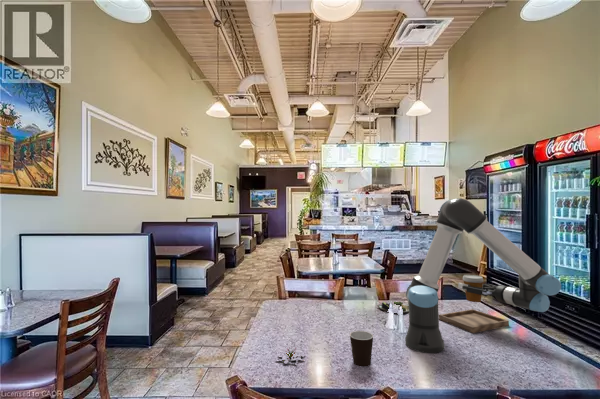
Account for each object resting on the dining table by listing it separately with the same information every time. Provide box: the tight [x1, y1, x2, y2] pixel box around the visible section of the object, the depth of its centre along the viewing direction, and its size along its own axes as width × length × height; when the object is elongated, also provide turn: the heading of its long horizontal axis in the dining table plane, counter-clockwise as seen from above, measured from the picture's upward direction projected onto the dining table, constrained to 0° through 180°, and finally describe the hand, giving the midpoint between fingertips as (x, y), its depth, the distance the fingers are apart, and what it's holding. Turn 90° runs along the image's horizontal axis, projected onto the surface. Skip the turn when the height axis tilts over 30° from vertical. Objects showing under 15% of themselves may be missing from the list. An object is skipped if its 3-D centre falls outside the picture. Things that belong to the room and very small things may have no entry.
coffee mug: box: [349, 330, 374, 368], centre depth 116 cm, size 12×9×10 cm
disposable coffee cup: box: [462, 274, 485, 303], centre depth 156 cm, size 10×10×12 cm
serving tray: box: [439, 308, 510, 334], centre depth 155 cm, size 24×20×2 cm
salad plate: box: [376, 300, 409, 315], centre depth 180 cm, size 19×18×5 cm
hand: (465, 284), depth 161 cm, fingers closed on disposable coffee cup, 8 cm apart
